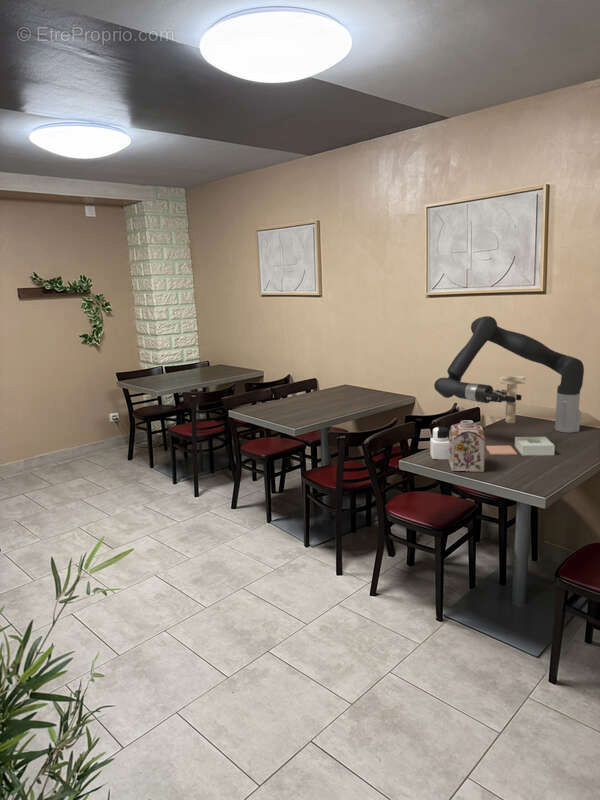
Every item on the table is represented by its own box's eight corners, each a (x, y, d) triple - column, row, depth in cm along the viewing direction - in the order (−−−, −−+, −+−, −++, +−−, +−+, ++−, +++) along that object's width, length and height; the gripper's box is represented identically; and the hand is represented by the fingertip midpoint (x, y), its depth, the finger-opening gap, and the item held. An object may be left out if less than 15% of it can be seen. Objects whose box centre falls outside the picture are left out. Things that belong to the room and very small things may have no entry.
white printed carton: (448, 453, 226) (448, 425, 224) (450, 459, 219) (451, 430, 217) (430, 454, 227) (430, 425, 224) (432, 459, 220) (432, 430, 217)
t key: (520, 421, 224) (523, 376, 220) (522, 423, 222) (525, 377, 217) (497, 420, 226) (499, 376, 221) (499, 422, 223) (501, 377, 218)
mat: (510, 446, 231) (510, 445, 231) (516, 454, 221) (516, 453, 221) (485, 447, 232) (485, 445, 232) (490, 454, 222) (490, 453, 222)
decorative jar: (484, 472, 204) (485, 425, 200) (451, 472, 206) (452, 425, 202) (479, 461, 215) (480, 417, 211) (448, 461, 217) (449, 417, 213)
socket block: (544, 445, 230) (545, 436, 229) (554, 455, 218) (554, 445, 218) (514, 446, 232) (515, 436, 231) (522, 455, 220) (522, 445, 219)
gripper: (470, 386, 226) (509, 392, 214) (488, 381, 235) (527, 386, 223) (469, 404, 228) (508, 411, 215) (487, 398, 237) (526, 404, 225)
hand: (517, 398), depth 219 cm, fingers closed on t key, 4 cm apart
